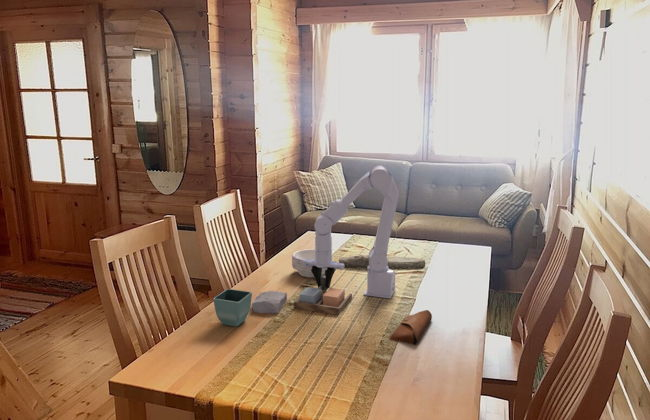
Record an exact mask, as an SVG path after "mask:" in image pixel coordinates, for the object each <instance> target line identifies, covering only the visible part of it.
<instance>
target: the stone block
mask: <svg viewBox="0 0 650 420" xmlns="http://www.w3.org/2000/svg"><path fill="white" fill-rule="evenodd" d="M287 295H288V294H287V292H286V291H285V292H283V291H278V290H268V291H264V292H260V293H259V294H258V295H257V296H256V297H255V298H254V300H253V301H251V309H252V311H253V312H254V313H259V314H279V313H280V311H281V310H282V308H283V307H284V305H285V304H286V303H287V300H288V297H287Z"/></svg>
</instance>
